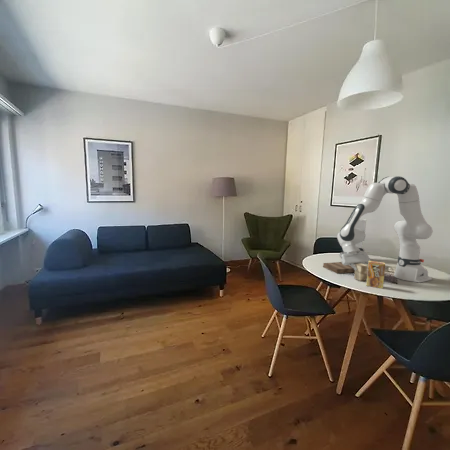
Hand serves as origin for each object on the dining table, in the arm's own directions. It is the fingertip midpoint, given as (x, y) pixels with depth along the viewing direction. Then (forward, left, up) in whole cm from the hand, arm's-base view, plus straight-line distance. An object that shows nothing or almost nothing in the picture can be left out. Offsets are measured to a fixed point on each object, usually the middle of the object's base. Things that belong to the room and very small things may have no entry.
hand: (360, 269), depth 170 cm
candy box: (0, +12, -7) cm, 14 cm away
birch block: (0, 0, -6) cm, 6 cm away
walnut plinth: (-1, -22, -7) cm, 23 cm away
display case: (-33, -43, -7) cm, 54 cm away
